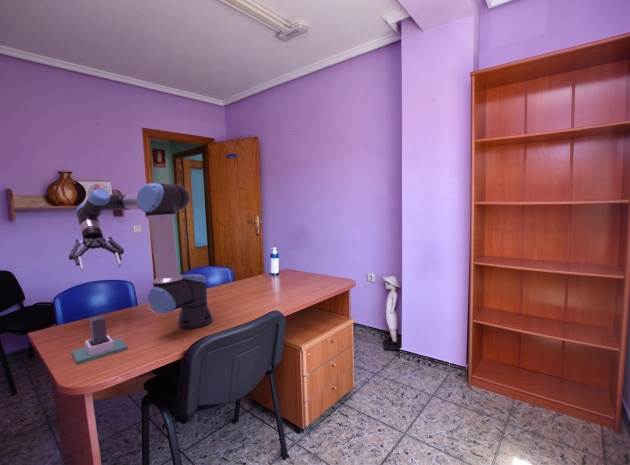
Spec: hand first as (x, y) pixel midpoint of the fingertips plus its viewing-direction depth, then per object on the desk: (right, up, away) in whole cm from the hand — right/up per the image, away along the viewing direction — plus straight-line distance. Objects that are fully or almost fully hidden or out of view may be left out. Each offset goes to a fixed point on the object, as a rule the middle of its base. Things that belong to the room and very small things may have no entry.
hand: (101, 267), depth 136 cm
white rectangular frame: (+9, -27, +36) cm, 46 cm away
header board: (+9, -31, -14) cm, 35 cm away
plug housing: (+9, -29, -14) cm, 34 cm away
